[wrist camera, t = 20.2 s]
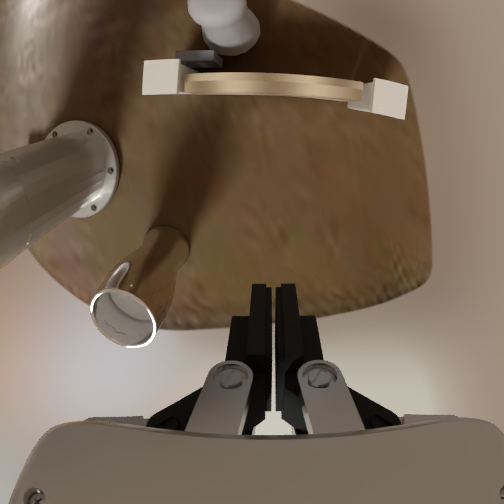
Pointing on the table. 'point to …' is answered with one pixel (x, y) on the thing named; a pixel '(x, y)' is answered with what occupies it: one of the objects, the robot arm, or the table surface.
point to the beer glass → (140, 289)
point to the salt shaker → (226, 25)
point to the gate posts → (173, 72)
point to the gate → (273, 85)
